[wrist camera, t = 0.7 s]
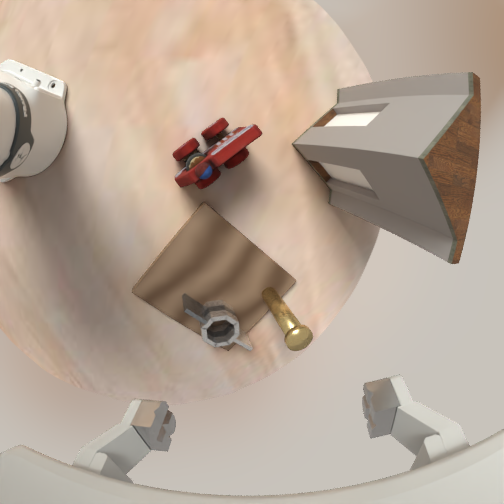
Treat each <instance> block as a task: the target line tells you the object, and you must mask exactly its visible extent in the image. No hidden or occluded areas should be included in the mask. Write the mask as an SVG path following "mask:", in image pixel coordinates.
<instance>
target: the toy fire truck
mask: <svg viewBox="0 0 504 504" xmlns="http://www.w3.org/2000/svg"><path fill="white" fill-rule="evenodd" d="M228 125H229V124H228V122H227V121H226V120H225V119H224V118H220V119H219V120H217V121H216V122H215V123H213V124H212V125H210V126H209V127H208V128H206V129H205V130H204V131H203V132H202V133H201V135H202V136H203V137H204V139H205V140H206V141H208V140H210V139H212V138H213V137H215V136H216V137H217V138H218V139H219V141H218V142H216V143H215V144H214V145H212V146H211V147H210V148H209V149H207V150H206V151H205V152H203V153H200V152H199V151H198V150H197V148H198V147H199V145H200V144H199V143H198V141H197V140H196V139H195V138H192V139H190V140H189V141H187V142H186V143H185V144H183V145H182V146H181V147H180V148H178V149H177V150H176V151H175V152H174V153H173V157H174V158H175V159H176V161H181V160H182V159H183V160H184V162H185V163H186V167H184V168H183V169H182V170H181V171H180V172H178V173H177V174H176V175H175V181H176V182H177V184H178V185H179V186H180V187H184V186H187V185H190V184H193V183H195V184H196V185H197V187H198V188H199V189H203V188H206V187H207V186H209V185H210V184H212V183H213V182H214V181H215V180H217V179H218V178H219V176H220V175H221V172H220V170H219V169H218V168H217V167H219V166H221V165H222V164H224V165H225V167H226V168H228V169H230V168H233V167H235V166H237V165H238V164H240V163H241V162H242V161H244V160H245V159H246V158H247V157H248V155H249V152H248V150H247V149H246V146H247V145H249V144H250V143H251V142H253V141H254V140H256V139H257V138H258V137H260V136H261V135H262V132H261V130H260V129H259V128H258V126H257V125H250V126H248V127H238V128H236V129H234V130H233V131H231V132H230V133H229V134H227V135H226V136H224V135H223V134H222V133H221V131H223V130H224V129H225V128H226V127H227V126H228Z"/></svg>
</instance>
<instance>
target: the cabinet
mask: <svg viewBox="0 0 504 504" xmlns="http://www.w3.org/2000/svg"><path fill="white" fill-rule="evenodd" d="M480 119H481V97H480V78H479V77H478V76H477V75H475V74H474V73H473V72H471V73H470V72H469V73H448V74H435V75H423V76H414V77H406V78H399V79H391V80H385V81H379V82H373V83H367V84H362V85H356V86H351V87H347V88H342V89H338V93H337V104H336V105H335V106H333V107H332V108H331V109H330V110H329V111H328V112H327V113H325V114H324V115H323V116H322V117H321V118H320V119H319V120H318V121H316V122H315V123H314V124H313V125H312V126H311V127H310V128H309V129H307V130H306V131H305V132H304V133H303V134H302V135H301V136H300V137H299V138H298V139H296V140H295V141H294V142H293V143H292V144H293V146H294V147H295V148H296V149H297V150H298V151H299V152H300V154H301V155H302V156H303V157H304V158H305V159H306V161H307V162H308V163H309V164H310V165H311V166H312V168H313V169H314V170H315V171H316V172H317V174H318V175H319V176H320V177H321V179H322V180H323V181H324V182H325V183H326V185H327V186H328V187H329V188H330V195H329V204H331V205H333V206H335V207H338V208H340V209H342V210H344V211H347V212H349V213H351V214H353V215H355V216H357V217H360V218H362V219H364V220H366V221H368V222H370V223H372V224H375V225H377V226H379V227H381V228H383V229H385V230H387V231H389V232H391V233H393V234H395V235H397V236H399V237H401V238H403V239H405V240H407V241H409V242H411V243H413V244H415V245H417V246H419V247H421V248H423V249H424V250H426V251H428V252H430V253H432V254H434V255H436V256H438V257H439V258H441V259H443V260H445V261H447V262H448V263H451V264H456V263H459V260H460V257H461V253H462V249H463V245H464V241H465V237H466V232H467V228H468V224H469V218H470V213H471V208H472V202H473V196H474V190H475V183H476V175H477V165H478V156H479V143H480V121H481V120H480Z"/></svg>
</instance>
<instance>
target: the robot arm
mask: <svg viewBox="0 0 504 504" xmlns="http://www.w3.org/2000/svg"><path fill="white" fill-rule="evenodd" d="M53 84H55V87H54V88H52V86H53ZM66 91H67V85H66V83H65V82H64V81H62V80H60V79H57V78H55V77H53V76H51V75H48V74H46V73H44V72H41V71H39V70H37V69H34V68H32V67H29V66H27V65H25V64H22V63H20V62H17V61H14V60H11V59H8V60H6V61H4V62H3V63H1V64H0V182H8V181H10V180H12V179H13V178H15V177H19V176H21V177H26V176H33V175H36V174H38V173H40V172H42V171H43V170H45V169H46V168H47V167H48V166H49V165H50V164H51V163H52V162H53V161H54V160H55V158H56V157H57V155H58V154H59V152H60V150H61V148H62V145H63V143H64V140H65V136H66V130H67V115H66V110H65V104H64V101H65V96H66ZM363 390H364V394H365V395H364V396H363V400H362V404H363V412H364V416H365V418H366V419H367V420H368V423H367V428H368V431H369V435H370V438H375V437H379V436H383V435H388V434H391V435H392V436H393V437H394V438H395V439H396V440H398V441H399V442H400V443H401V444H402V445H404V446H405V447H406V448H407V449H409V450H410V451H411V452H412V453H414V454H415V455H416V456H417V457H416V459H415V461H414V463H413V465H412V467H411V469H410V471H407V472H404V473H400V474H397V475H394V476H390V477H386V478H383V479H379V480H375V481H371V482H366V483H362V484H357V485H352V486H348V487H342V488H336V489H330V490H323V491H316V492H307V493H298V494H285V495H264V496H231V495H211V494H198V493H188V492H180V491H172V490H166V489H160V488H154V487H149V486H144V485H139V484H134V483H133V482H132V480H131V479H130V478H129V477H128V476H127V475H126V474H127V473H128V472H129V471H130V470H131V469H132V468H133V467H134V466H135V465H137V464H138V463H139V461H141V460H142V459H143V458H144V457H145V456H146V455H147V454H148V453H149V452H150V451H151V450H158V451H168V449H169V446H170V443H171V438H170V435H171V434H173V433H174V431H175V427H176V421H175V417H174V415H173V413H172V412H170V411H169V410H168V407H169V406H168V405H167V403H166V402H165V401H155V400H142V399H134V400H132V401H131V403H130V405H129V407H128V409H127V411H126V413H125V415H124V417H123V419H122V421H121V423H120V424H116V425H115V426H114V427H112V428H110V429H109V430H107V431H106V432H104V433H103V434H101V435H100V436H99V437H97V438H95V439H94V440H92V441H91V442H89V443H88V444H86V445H85V446H83V447H82V448H81V450H80V452H79V453H78V455H77V457H76V459H75V461H74V463H73V465H68V464H66V463H63V462H61V461H58V460H56V459H53V458H51V457H49V456H46V455H44V454H42V453H39V452H37V451H35V450H33V449H30V448H28V447H26V446H23V445H18V446H15V447H13V448H10V449H8V450H6V451H4V452H3V453H0V504H504V429H502V430H501V431H499V432H497V433H495V434H494V435H492V436H490V437H488V438H486V439H484V440H483V441H480V442H478V443H476V444H475V445H472V446H470V445H469V443H468V441H467V439H466V437H465V435H464V433H463V431H462V429H461V427H460V425H459V424H458V423H456V422H454V421H452V420H451V419H449V418H446V417H445V416H443V415H441V414H439V413H438V412H436V411H434V410H432V409H430V408H429V407H427V406H425V405H423V404H421V403H420V402H417V401H416V402H414V401H413V399H412V397H411V395H410V393H409V391H408V388H407V386H406V384H405V382H404V380H403V378H402V376H401V375H396V376H392V377H388V378H384V379H380V380H376V381H372V382H368V383H365V384H364V388H363Z"/></svg>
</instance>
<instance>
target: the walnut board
mask: <svg viewBox="0 0 504 504" xmlns="http://www.w3.org/2000/svg"><path fill="white" fill-rule="evenodd" d="M295 282H296V280H295V279H294V278H293V277H292V276H291V275H290V274H289V273H287V272H286V271H285V270H284V269H283V268H282V267H280V266H279V265H278V264H277V263H276V262H275V261H273V260H272V259H271V258H270V257H269V256H268V255H266V254H265V253H264V252H263V251H262V250H260V249H259V248H258V247H257V246H256V245H255V244H253V243H252V242H251V241H250V240H249V239H248V238H246V237H245V236H244V235H243V234H242V233H240V232H239V231H238V230H237V229H236V228H235V227H233V226H232V225H231V224H230V223H229V222H228V221H226V220H225V219H224V218H223V217H222V216H220V215H219V214H218V213H217V212H216V211H215V210H213V209H212V208H211V207H210V206H209V205H207V204H206V203H205V202H203V203H202V204H201V205H200V207H199V208H198V209H197V210H196V211H195V212H194V214H193V215H192V216H191V217H190V218H189V219H188V221H187V222H186V223H185V224H184V225H183V226H182V228H181V229H180V230H179V231H178V232H177V234H176V235H175V236H174V237H173V238H172V240H171V241H170V242H169V243H168V245H167V246H166V247H165V248H164V249H163V251H162V252H161V253H160V254H159V256H158V257H157V258H156V259H155V261H154V262H153V263H152V264H151V266H150V267H149V268H148V269H147V271H146V272H145V273H144V275H143V276H142V277H141V278H140V280H139V281H138V282H137V284H136V285H135V286H134V288H133V289H132V293H134V294H135V295H137V296H138V297H140V298H141V299H143V300H144V301H146V302H147V303H149V304H151V305H152V306H154V307H155V308H157V309H158V310H160V311H161V312H163V313H165V314H166V315H168V316H169V317H171V318H173V319H174V320H176V321H178V322H179V323H181V324H182V325H184V326H186V327H187V328H189V329H191V330H192V331H194V332H196V333H198V334H199V335H201V336H202V334H201V329H200V325H199V321H198V320H197V319H195V318H193V317H192V316H190V315H189V314H187V313H186V312H184V307H183V299H182V295H183V294H184V293H185V294H187V295H188V296H190V297H191V298H193V299H194V300H196V301H197V302H199V303H200V304H202V305H205V303H206V302H209V301H216V300H223V301H224V302H226V303H227V304H229V305H230V306H232V307H233V310H234V312H235V314H236V317H237V319H238V322H239V328H240V329H241V330H243V331H245V332H246V333H247V332H248V331H249V330H250V329H251V328H252V327H253V326H254V325H255V324H256V323H257V322H258V321H259V320H260V319H261V318H262V317H263V316H264V315H265V314H266V313H267V311H268V310H269V308H268V306H267V305H266V303H265V301H264V300H263V298H262V292H263V290H264V289H265V288H267V287H273V288H275V290H276V291H277V292H278V294H279V295H280V297H282V296H283V295H284V294H285V293H286V292H287V291H288V289H289V288H290V287H291V286H292V285H293V284H294V283H295ZM225 321H226V320H220V321H214V322H213V323H212V324H211V325H210V326H211V327H213V326H219V325H222V324H223V323H224V322H225ZM235 344H236V343H235V342H234V341H233V342H232V343H231V344H230V345H226V346H220V347H222V348H224V349H226V350H228V351H229V350H230V349H231V348H232V347H233V346H234V345H235Z"/></svg>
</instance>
